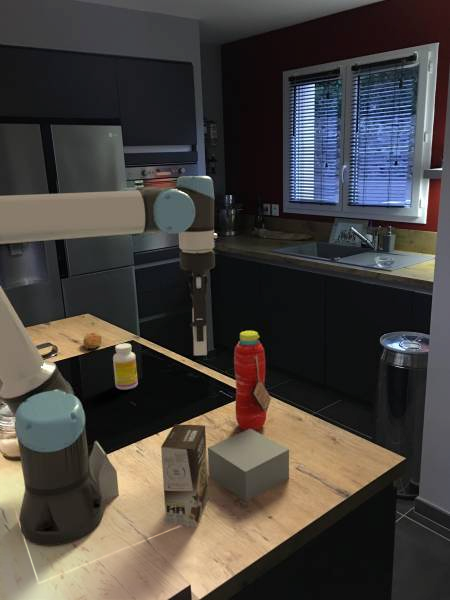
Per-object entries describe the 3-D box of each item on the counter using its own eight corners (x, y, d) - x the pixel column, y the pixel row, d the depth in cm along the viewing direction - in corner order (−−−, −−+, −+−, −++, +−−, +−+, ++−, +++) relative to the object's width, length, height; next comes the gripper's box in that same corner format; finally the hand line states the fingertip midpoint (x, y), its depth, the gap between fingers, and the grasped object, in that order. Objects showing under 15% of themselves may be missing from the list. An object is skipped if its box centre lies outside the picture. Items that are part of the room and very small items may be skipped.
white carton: (101, 503, 104) (96, 458, 102) (91, 486, 110) (86, 443, 108) (119, 496, 106) (114, 452, 104) (108, 480, 112) (103, 438, 109)
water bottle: (278, 437, 127) (277, 339, 120) (247, 443, 124) (245, 343, 118) (259, 415, 138) (257, 324, 131) (230, 421, 135) (227, 328, 129)
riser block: (246, 503, 103) (245, 471, 101) (209, 476, 112) (207, 447, 110) (289, 479, 110) (289, 449, 108) (250, 456, 119) (250, 428, 118)
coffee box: (198, 528, 96) (194, 449, 92) (165, 524, 97) (159, 446, 93) (210, 497, 105) (206, 424, 101) (179, 494, 106) (174, 422, 102)
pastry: (102, 349, 191) (101, 339, 190) (83, 350, 189) (82, 340, 188) (101, 341, 200) (101, 331, 199) (83, 342, 198) (82, 333, 197)
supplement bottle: (140, 388, 157) (136, 347, 154) (118, 392, 155) (114, 351, 152) (135, 379, 163) (131, 340, 160) (113, 383, 161) (110, 344, 158)
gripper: (218, 259, 100) (219, 363, 106) (211, 241, 125) (213, 327, 130) (178, 260, 100) (182, 365, 105) (180, 242, 124) (183, 328, 129)
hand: (199, 344), depth 117 cm, fingers open, 13 cm apart
